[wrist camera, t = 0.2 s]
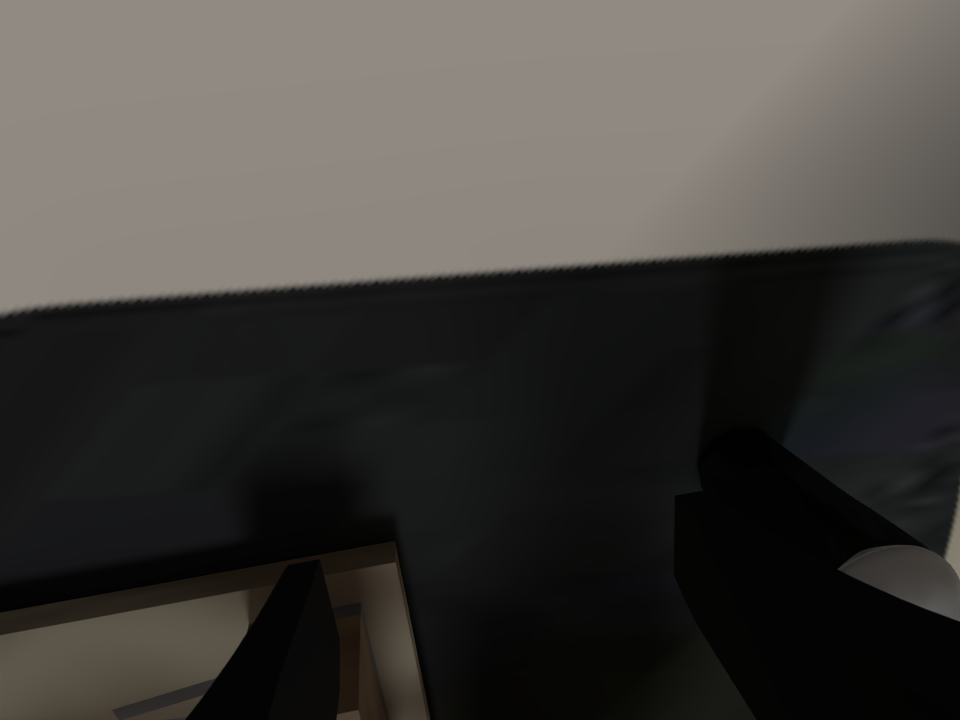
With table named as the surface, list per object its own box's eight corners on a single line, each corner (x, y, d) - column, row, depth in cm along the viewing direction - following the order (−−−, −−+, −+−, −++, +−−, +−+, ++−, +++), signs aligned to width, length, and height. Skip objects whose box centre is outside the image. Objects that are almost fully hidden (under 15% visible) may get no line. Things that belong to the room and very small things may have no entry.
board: (438, 757, 29) (440, 783, 28) (63, 836, 28) (50, 867, 27) (394, 540, 25) (395, 562, 24) (-61, 623, 23) (-82, 650, 22)
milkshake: (642, 467, 25) (795, 690, 16) (765, 388, 24) (998, 571, 15) (693, 543, 27) (857, 781, 18) (809, 470, 26) (1041, 678, 17)
